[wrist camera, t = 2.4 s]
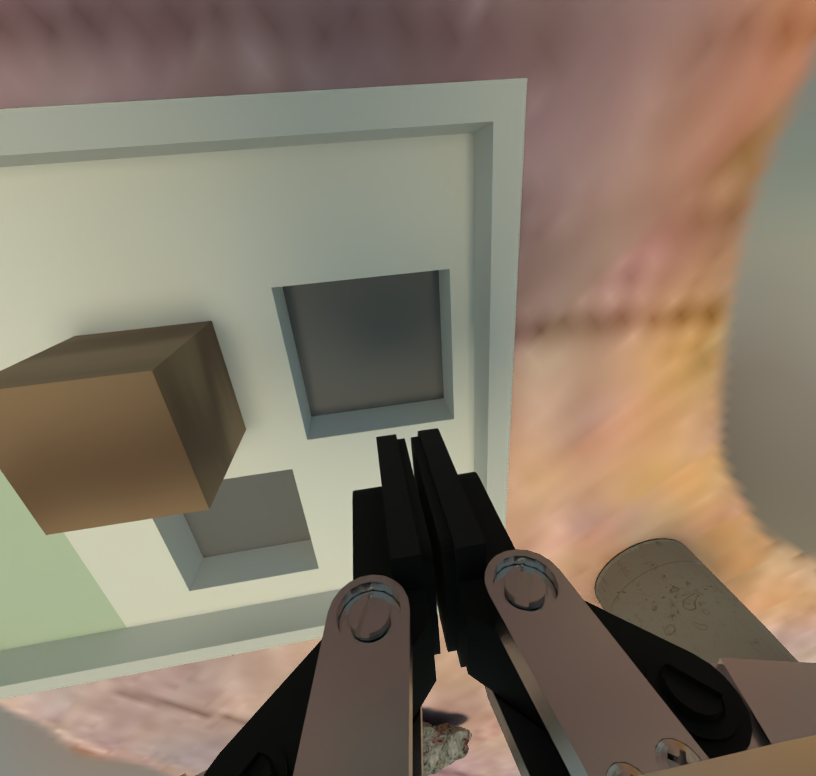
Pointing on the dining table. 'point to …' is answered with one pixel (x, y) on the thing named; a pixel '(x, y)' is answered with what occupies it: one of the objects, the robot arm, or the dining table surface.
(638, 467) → the dining table surface
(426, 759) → the mineral rock
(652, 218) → the dining table surface
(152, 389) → the walnut block
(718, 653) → the thermos bottle
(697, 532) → the dining table surface
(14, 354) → the board
